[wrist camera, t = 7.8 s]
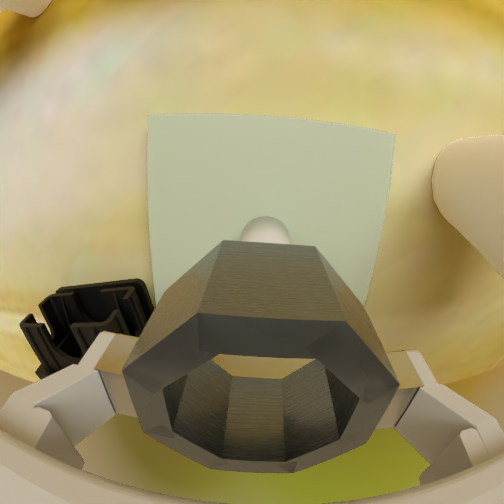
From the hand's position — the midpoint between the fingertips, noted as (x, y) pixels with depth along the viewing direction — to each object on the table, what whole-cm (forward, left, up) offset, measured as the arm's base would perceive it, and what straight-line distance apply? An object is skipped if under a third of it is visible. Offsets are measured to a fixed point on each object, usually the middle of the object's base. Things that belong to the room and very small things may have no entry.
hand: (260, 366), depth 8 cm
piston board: (0, 0, -12) cm, 12 cm away
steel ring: (0, 0, -2) cm, 2 cm away
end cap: (+12, +8, -12) cm, 19 cm away
